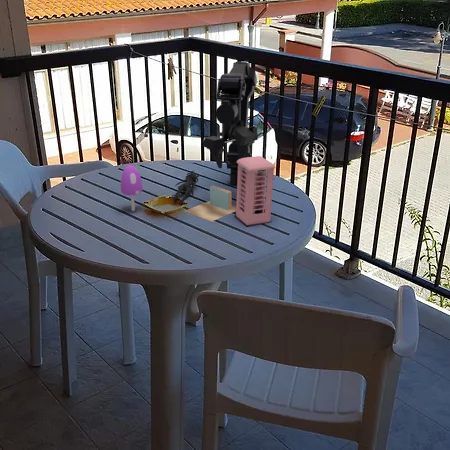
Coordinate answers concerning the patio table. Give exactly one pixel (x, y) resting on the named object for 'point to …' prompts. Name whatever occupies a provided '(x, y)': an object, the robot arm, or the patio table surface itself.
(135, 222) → the patio table surface
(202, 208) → the mat
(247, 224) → the miniature model
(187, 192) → the figurine
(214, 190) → the tile
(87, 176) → the patio table surface
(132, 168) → the toy
